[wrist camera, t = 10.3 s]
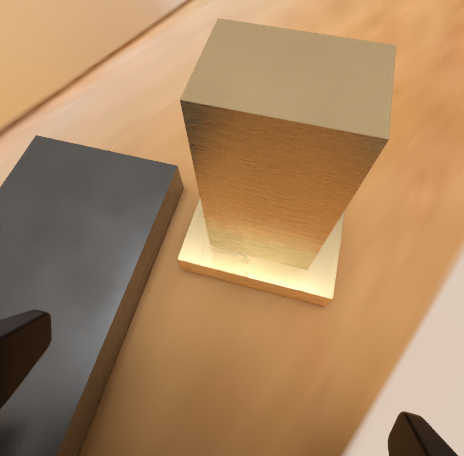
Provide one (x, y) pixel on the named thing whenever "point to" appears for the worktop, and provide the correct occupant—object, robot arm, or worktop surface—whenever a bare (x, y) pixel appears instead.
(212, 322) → the worktop surface
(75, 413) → the brushed steel slab
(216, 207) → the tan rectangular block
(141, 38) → the worktop surface
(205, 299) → the worktop surface
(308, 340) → the worktop surface
